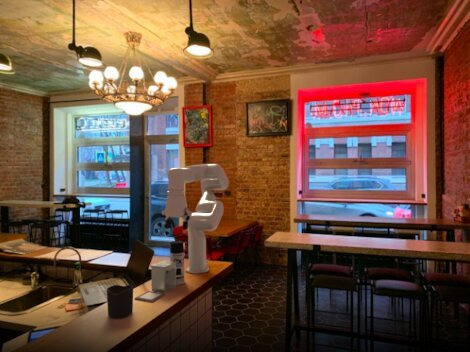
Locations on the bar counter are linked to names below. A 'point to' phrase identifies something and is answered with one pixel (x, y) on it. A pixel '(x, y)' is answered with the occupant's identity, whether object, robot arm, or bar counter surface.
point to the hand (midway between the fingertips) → (176, 228)
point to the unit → (163, 276)
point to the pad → (150, 296)
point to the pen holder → (120, 301)
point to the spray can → (178, 260)
